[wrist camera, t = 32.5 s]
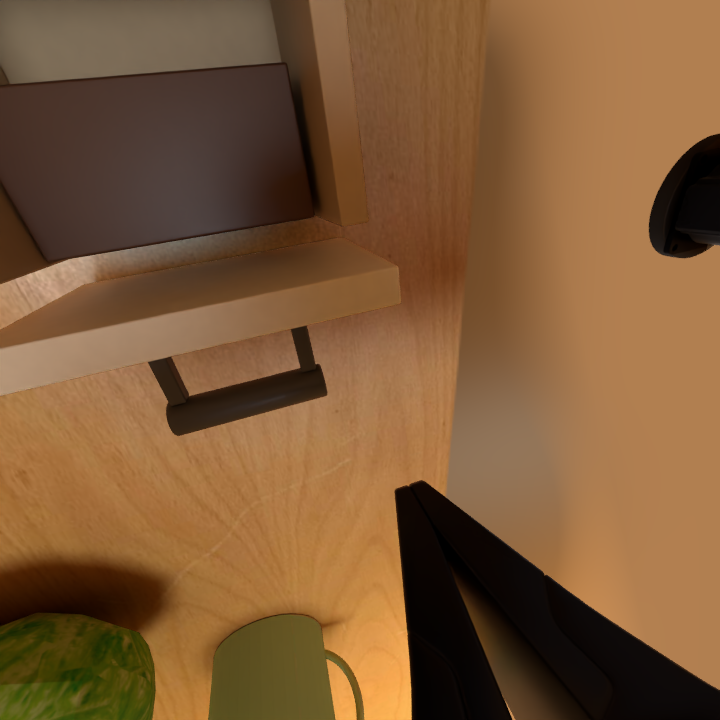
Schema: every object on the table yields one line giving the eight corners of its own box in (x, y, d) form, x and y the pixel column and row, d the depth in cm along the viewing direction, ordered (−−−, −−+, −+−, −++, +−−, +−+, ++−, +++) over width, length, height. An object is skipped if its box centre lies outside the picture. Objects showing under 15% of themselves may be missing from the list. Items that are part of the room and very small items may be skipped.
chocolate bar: (31, 117, 11) (-57, 88, 8) (279, 93, 12) (287, 60, 9) (96, 245, 12) (46, 263, 10) (302, 211, 14) (315, 217, 11)
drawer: (357, 337, 19) (409, 412, 12) (142, 390, 17) (74, 511, 10) (279, -189, 10) (321, -838, 4) (-195, -217, 8) (-1936, -1795, 2)
